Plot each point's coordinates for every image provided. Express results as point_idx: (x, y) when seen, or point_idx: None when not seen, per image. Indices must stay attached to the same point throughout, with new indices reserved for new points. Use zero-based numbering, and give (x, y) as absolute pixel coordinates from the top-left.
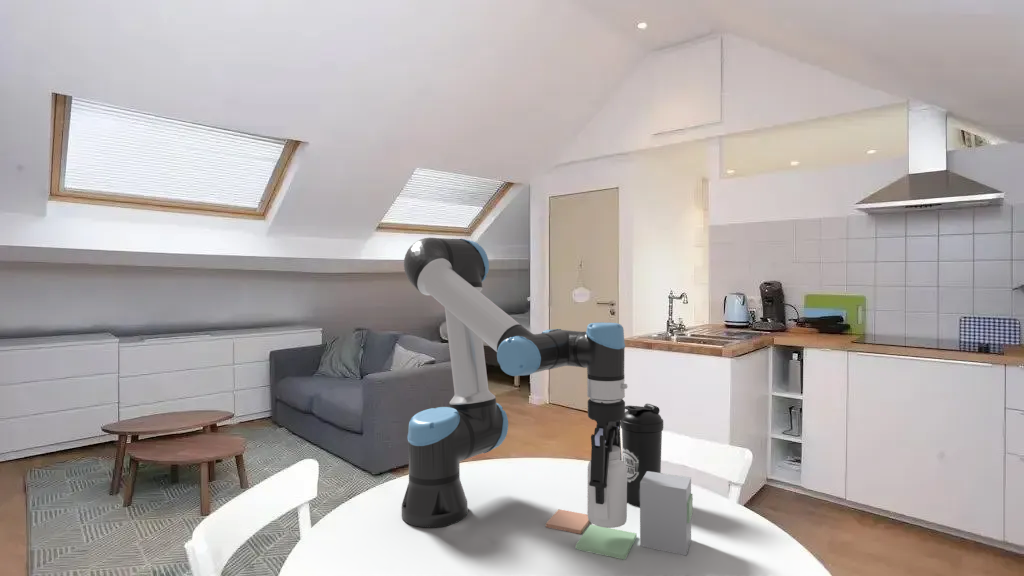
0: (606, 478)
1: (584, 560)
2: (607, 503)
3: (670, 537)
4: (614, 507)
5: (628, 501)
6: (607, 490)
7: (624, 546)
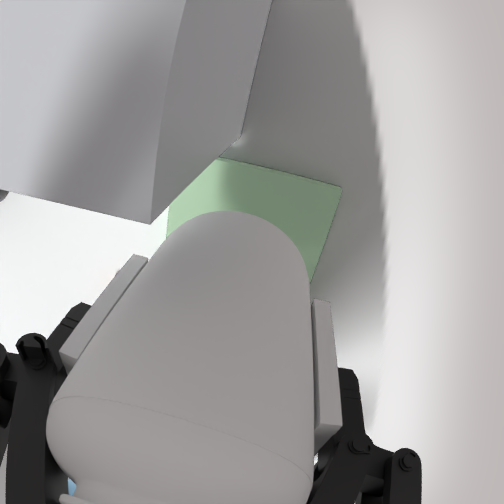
0: (340, 473)
1: (352, 291)
2: (332, 353)
3: (256, 31)
4: (307, 307)
5: (5, 192)
6: (335, 407)
7: (282, 191)
